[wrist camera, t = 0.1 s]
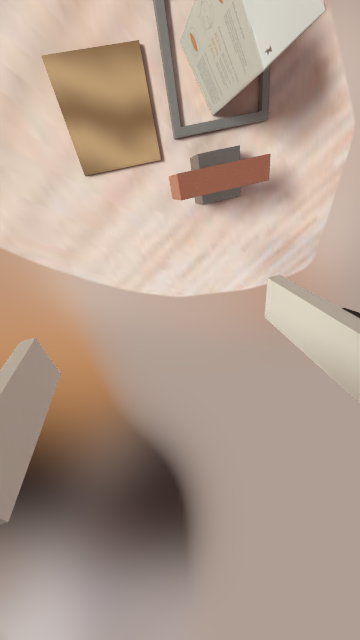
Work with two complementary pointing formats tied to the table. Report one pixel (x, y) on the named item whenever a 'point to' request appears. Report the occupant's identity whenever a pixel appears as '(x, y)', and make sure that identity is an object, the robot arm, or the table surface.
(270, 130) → the table surface
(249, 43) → the small box
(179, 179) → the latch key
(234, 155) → the key housing
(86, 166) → the cork pad
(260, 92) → the seat rim
